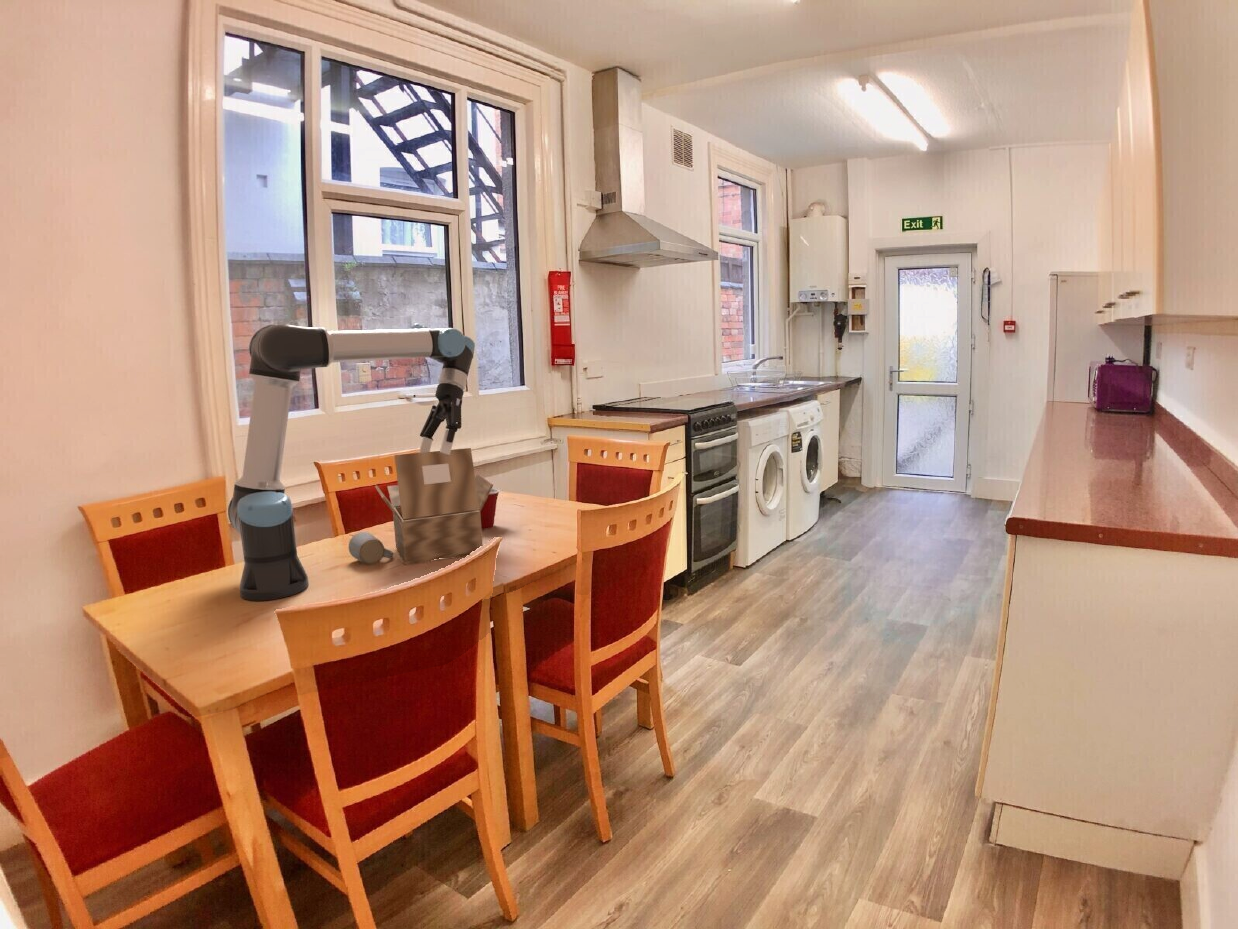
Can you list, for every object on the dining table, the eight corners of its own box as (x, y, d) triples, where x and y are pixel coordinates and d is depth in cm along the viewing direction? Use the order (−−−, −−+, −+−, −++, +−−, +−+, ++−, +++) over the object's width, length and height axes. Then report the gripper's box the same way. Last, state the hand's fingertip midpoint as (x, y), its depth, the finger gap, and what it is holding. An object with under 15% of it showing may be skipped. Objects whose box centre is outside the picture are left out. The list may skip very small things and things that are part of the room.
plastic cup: (509, 524, 233) (507, 487, 231) (485, 532, 224) (483, 494, 222) (483, 520, 239) (481, 484, 236) (460, 528, 230) (457, 491, 228)
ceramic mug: (360, 568, 193) (358, 540, 192) (349, 561, 200) (347, 534, 198) (399, 560, 200) (397, 532, 199) (386, 553, 206) (384, 527, 205)
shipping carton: (388, 567, 193) (382, 497, 190) (377, 543, 216) (371, 480, 213) (498, 551, 205) (493, 484, 201) (476, 529, 228) (472, 469, 225)
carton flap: (402, 519, 193) (402, 519, 192) (394, 455, 195) (394, 455, 194) (479, 509, 201) (479, 509, 200) (470, 448, 203) (470, 447, 202)
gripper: (484, 383, 202) (467, 455, 196) (442, 400, 221) (425, 466, 215) (461, 373, 198) (442, 446, 192) (419, 390, 217) (401, 458, 211)
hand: (433, 457), depth 203 cm, fingers open, 13 cm apart
